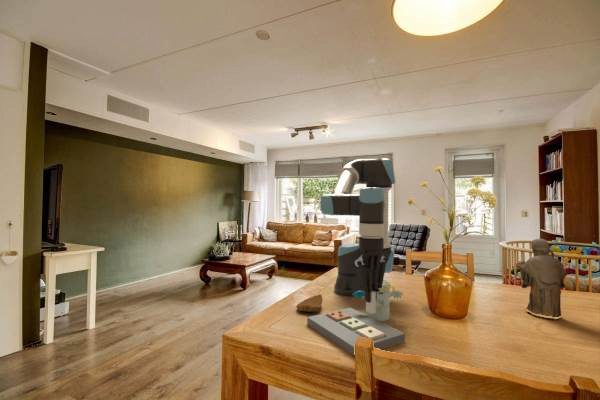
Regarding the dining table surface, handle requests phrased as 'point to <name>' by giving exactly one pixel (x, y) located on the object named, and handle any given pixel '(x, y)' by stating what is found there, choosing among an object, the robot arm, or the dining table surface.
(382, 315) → the character sculpture
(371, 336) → the tile one
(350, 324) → the tile two
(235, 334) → the dining table surface
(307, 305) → the artifact
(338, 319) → the tile three
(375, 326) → the button board
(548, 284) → the sculpture
